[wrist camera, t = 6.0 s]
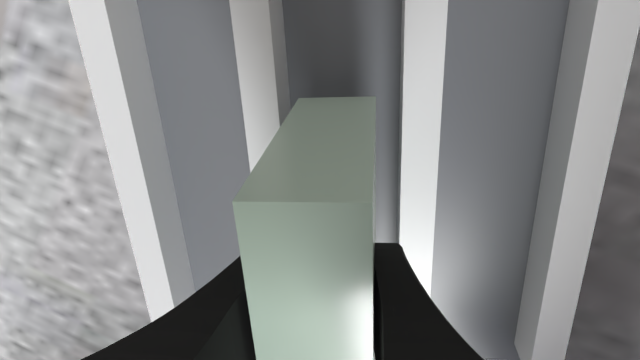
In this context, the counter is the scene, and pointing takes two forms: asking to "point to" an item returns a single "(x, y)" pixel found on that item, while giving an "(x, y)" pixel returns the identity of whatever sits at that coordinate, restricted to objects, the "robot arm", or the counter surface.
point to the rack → (391, 137)
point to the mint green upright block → (312, 233)
